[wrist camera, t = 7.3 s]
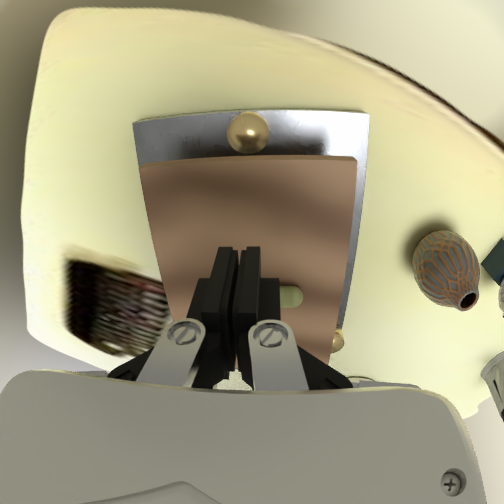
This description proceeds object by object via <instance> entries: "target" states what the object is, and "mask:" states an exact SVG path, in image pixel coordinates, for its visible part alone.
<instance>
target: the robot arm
mask: <svg viewBox="0 0 504 504" xmlns="http://www.w3.org/2000/svg"><path fill="white" fill-rule="evenodd" d="M236 356H237V363H238V371H239V372H241V374H242V380H244V381H245V382H246V383H247V384H248V385H249V386H251V387H252V391H243V390H219V389H217V383H219V382H220V381H222V380H223V379H229V372H230V371H235V364H236ZM0 504H487V502H486V496H485V492H484V487H483V482H482V477H481V473H480V469H479V465H478V461H477V458H476V454H475V451H474V448H473V445H472V442H471V439H470V436H469V434H468V431H467V429H466V426H465V424H464V422H463V420H462V418H461V416H460V414H459V412H458V411H457V409H456V408H455V406H454V405H453V404H452V403H451V402H450V401H449V400H448V399H447V398H445V397H443V396H442V395H439V394H437V393H434V392H431V391H428V390H423V389H421V388H419V387H418V386H416V385H411V384H400V383H386V382H375V381H372V380H370V379H365V378H346V377H345V376H344V375H342V374H341V373H339V372H338V371H336V370H335V369H333V368H331V367H330V366H328V365H327V364H325V363H324V362H322V361H321V360H319V359H318V358H316V357H315V356H313V355H312V354H310V353H309V352H307V351H305V350H304V349H302V348H301V347H299V346H298V345H296V341H295V338H294V334H293V331H292V329H291V327H290V326H288V325H287V324H286V323H284V322H282V321H281V310H280V282H279V278H261V249H260V246H247V248H246V250H241V256H240V263H239V258H238V250H233V247H218V251H217V254H216V258H215V261H214V265H213V268H212V272H211V276H210V278H199V279H198V282H197V285H196V288H195V291H194V294H193V297H192V300H191V304H190V307H189V310H188V313H187V316H186V318H183V319H178V320H176V321H173V322H172V323H170V324H169V325H168V326H167V327H166V328H165V330H164V331H163V333H162V335H161V337H160V338H159V340H158V342H157V344H156V346H155V347H154V348H152V349H150V350H148V351H146V352H145V353H143V354H141V355H139V356H137V357H135V358H133V359H132V360H130V361H128V362H126V363H124V364H122V365H120V366H118V367H117V368H115V369H114V370H112V371H111V372H110V373H109V374H107V372H106V371H87V372H86V371H85V372H72V371H65V370H55V369H37V370H30V371H26V372H23V373H20V374H18V375H16V376H15V377H13V378H12V379H11V380H10V381H9V382H8V384H7V385H6V386H5V388H4V389H3V390H2V392H1V394H0Z"/></svg>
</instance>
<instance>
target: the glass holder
mask: <svg viewBox="0 0 504 504" xmlns="http://www.w3.org/2000/svg"><path fill="white" fill-rule="evenodd" d="M481 377H482V378H483V379H484V380H485V381H486V383H487V385H488V387H489V389H490V392H491V394H492V396H493V398H494V401H495V403H496V406H497V408H498V411H499V413H500V416H501V418H502V419H503V421H504V351H503V352H502V353H500V354H498V355H497V356H496V357H494V358H493V359H492V360H491V361H490V362H489V363H488V364H487V365H486V366H485V367H484V369H483V370H482V373H481Z"/></svg>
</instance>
